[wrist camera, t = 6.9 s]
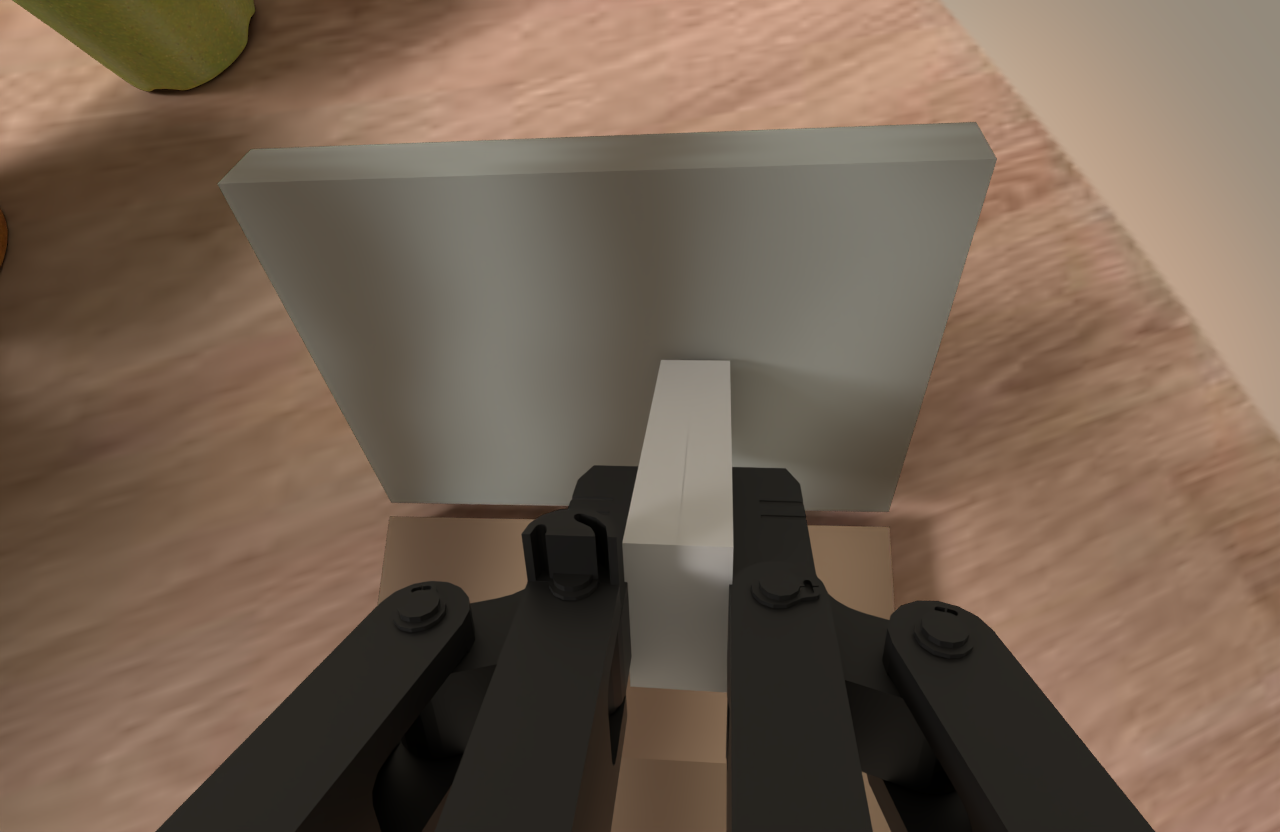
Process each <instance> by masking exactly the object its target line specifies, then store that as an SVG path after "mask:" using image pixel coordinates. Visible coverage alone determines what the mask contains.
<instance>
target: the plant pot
mask: <svg viewBox="0 0 1280 832" xmlns="http://www.w3.org/2000/svg"><path fill="white" fill-rule="evenodd" d="M13 1H14V2H15V3H17V4H18V5H20V6H21V7H23V8H24V9H25V10H27V11H28V12H30V13H31V14H33V15H34V16H35V17H37V18H38V19H40V20H41V21H43V22H44V23H45V24H47V25H48V26H50V27H51V28H52V29H54V30H55V31H57V32H58V33H59V34H61V35H62V36H64V37H65V38H66V39H68V40H69V41H70V42H72V43H73V44H75V45H76V46H77V47H79V48H80V49H82V50H83V51H84V52H86V53H87V54H88V55H90V56H91V57H92V58H94V59H95V60H97V61H98V62H99V63H101V64H102V65H104V66H105V67H106V68H108V69H109V70H111V71H112V72H114V73H115V74H116V75H118V76H119V77H121V78H122V79H124V80H125V81H126V82H128V83H129V84H131V85H133V86H134V87H136V88H139V89H141V90H144V91H148V92H149V91H152V90H154V89H177V90H189V89H191V88H194V87H197V86H199V85H201V84H204V83H206V82H208V81H209V80H211V79H213V78H214V77H216V76H217V75H218V74H220V73H221V72H222V71H224V70H225V69H226V68H227V67H228V66H229V65H231V64H232V63H233V62H234V61H235V60H236V58H237V57H238V56H239V55H240V54H241V52H242V51H243V49H244V48H245V46H246V44H247V41H248V27H249V22H250V19H251V17H252V15H253V14H254V13H255V6H254V1H253V0H13Z"/></svg>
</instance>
